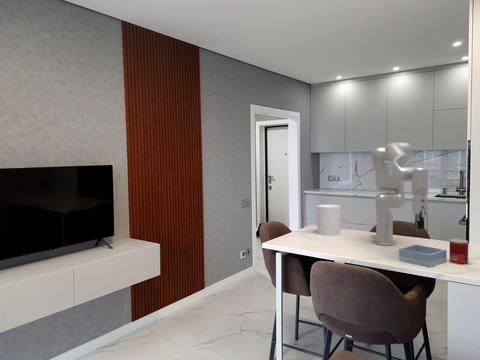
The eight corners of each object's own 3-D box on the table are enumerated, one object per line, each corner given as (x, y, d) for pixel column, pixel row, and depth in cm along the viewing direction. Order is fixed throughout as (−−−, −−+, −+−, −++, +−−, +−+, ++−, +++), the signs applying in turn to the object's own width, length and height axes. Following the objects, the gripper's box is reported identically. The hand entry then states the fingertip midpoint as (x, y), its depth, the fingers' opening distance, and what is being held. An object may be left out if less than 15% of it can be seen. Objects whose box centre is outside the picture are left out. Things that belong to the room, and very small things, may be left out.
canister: (313, 234, 256) (313, 206, 255) (323, 230, 269) (322, 204, 268) (335, 236, 246) (334, 207, 245) (343, 232, 259) (343, 205, 258)
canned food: (469, 264, 175) (469, 242, 175) (450, 263, 178) (451, 241, 178) (466, 260, 182) (466, 239, 182) (448, 259, 185) (448, 238, 185)
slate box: (399, 260, 185) (399, 248, 185) (415, 255, 194) (415, 244, 194) (430, 267, 172) (430, 255, 172) (446, 261, 181) (446, 250, 181)
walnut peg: (414, 230, 183) (414, 211, 182) (417, 230, 185) (418, 210, 184) (420, 231, 180) (420, 212, 180) (424, 231, 182) (424, 211, 182)
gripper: (433, 193, 173) (432, 231, 174) (422, 190, 189) (422, 225, 190) (416, 193, 174) (416, 230, 175) (407, 190, 190) (407, 225, 191)
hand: (419, 227), depth 182 cm, fingers closed on walnut peg, 3 cm apart
